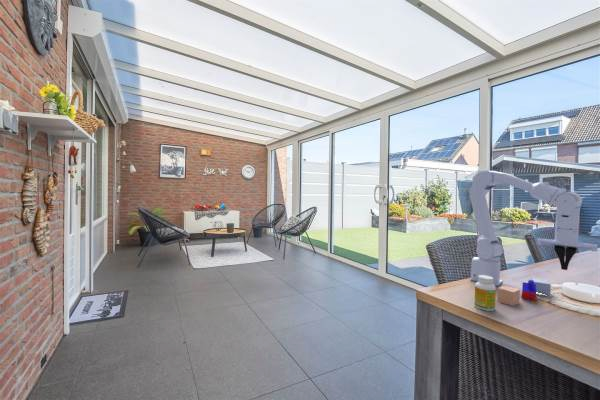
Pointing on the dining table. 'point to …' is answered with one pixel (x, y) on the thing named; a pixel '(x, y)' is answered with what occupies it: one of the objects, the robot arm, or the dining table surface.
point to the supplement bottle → (485, 293)
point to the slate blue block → (542, 286)
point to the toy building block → (529, 290)
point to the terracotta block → (508, 295)
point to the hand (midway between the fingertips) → (564, 269)
